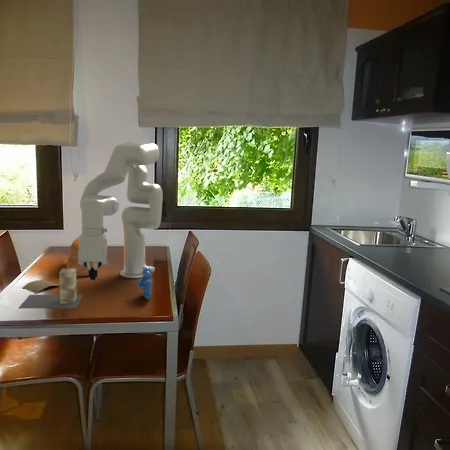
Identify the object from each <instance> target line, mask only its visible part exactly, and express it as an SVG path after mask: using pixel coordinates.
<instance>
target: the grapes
mask: <svg viewBox="0 0 450 450" xmlns="http://www.w3.org/2000/svg"><path fill="white" fill-rule="evenodd" d="M142 273H143V274H144V275H143V277H141V278H138V280H137V282H136V283H135V285H137V287H138V288H141V289H142V291H143V292H142V295H143V297H144V298H145V300H149V299H150V298H151V297H152V292H153V290H152V289H151V287H152V285H153V284H154V282H153V280H152V279H151V277H152V276H153V275H152V271H151V270H150V269H149V268H148V267H146V268H145V269H144V270H143V272H142Z"/></svg>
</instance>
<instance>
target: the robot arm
mask: <svg viewBox="0 0 450 450" xmlns="http://www.w3.org/2000/svg"><path fill="white" fill-rule="evenodd" d="M159 157H160V150H159V147H158V145H157V144H155V143H150V142H133V141H132V142H131V141H130V142H129V141H128V142H123V143H120V144H117V145H115V147H113V150H112V153H111V155H110V158H109V159H108V162H107V164H106V167H105V169H104V171H103V172H101V173H100V174H98V175H97V176H95V177H94V178H93V179H92V180H90V181H89V182H88V183H87V185H86V186H85V188H84V190H83V192H82V194H81V198H80V201H79V206H80V210H81V234H80V236H79V237H80V239H79V250H78V259H79V260H78V264H81V265H84V266H85V267H87V268H88V270H89V276H88V278H89V279H90V281H96V279H97V278H98V269H99V268H100V267H101V266H105V265H107V264H109V262H108V242H107V236H106V234H104V233H107V232H108V228H104V217H108V216H109V217H110V216H113V215H115V214H116V213H117V212H118V211H119V206H120V204H119V201H118V199H117V198H116V197H114V196H112V195H102V194H99V193H100V192H103V191H104V190H106V189H109V188H112V187H115V186H118V185H121V184H122V183H124V182H125V180H126V178H127V177H128V178H127V187H126V188H127V190H126V198H127V201H128V202H129V203H131V204H135V205H137V204H138V205H149V207H143V206H127V207H125V208H124V209H123V210H122V211H121V221H122V225H123V269H122V270H121V271H120V276H121V277H124V278H127V279H142V277H143V275H144V274H143V273H142V272H143V270H144V269H145V268H146V267H148V268H149V269H150V270H151V272H155V271H156V268H155V266H152V265H150V266H149V265H147V263H146V235H145V233H144V230H143V229H146V230H156V229H158V228H159V227H160V226H161V223H162V212H163V211H162V210H163V199H164V197H163V189H162V187H161V186H160V185H159V184H157V183H151V182H149V183H148V177H149V176H148V175H149V173H148V169H147V168H146V166H149V165H152V164H155V163H156V162H157V161H158V160H159ZM91 262H95V266H94V269H93V267H92V263H91Z"/></svg>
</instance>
